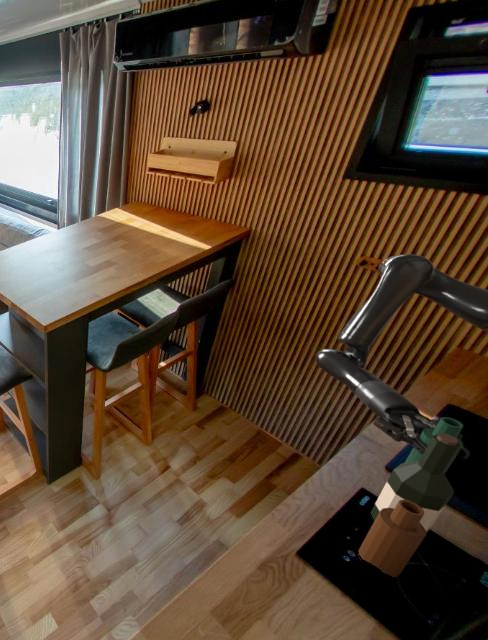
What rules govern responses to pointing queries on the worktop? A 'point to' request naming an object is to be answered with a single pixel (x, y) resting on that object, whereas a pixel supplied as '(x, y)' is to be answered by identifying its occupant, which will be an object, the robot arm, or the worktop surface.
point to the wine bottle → (422, 481)
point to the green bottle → (443, 426)
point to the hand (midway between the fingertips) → (448, 455)
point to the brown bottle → (394, 537)
